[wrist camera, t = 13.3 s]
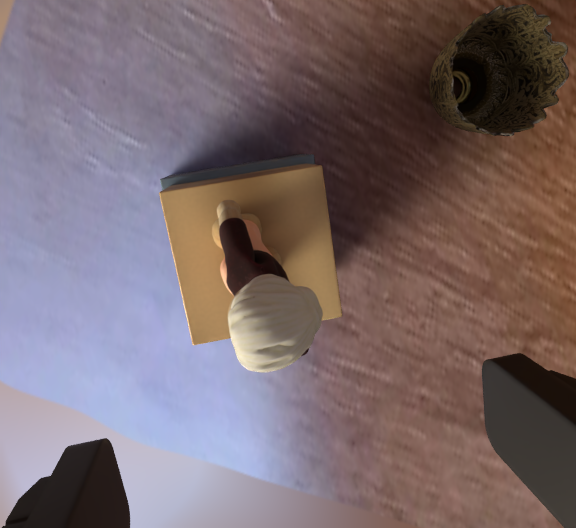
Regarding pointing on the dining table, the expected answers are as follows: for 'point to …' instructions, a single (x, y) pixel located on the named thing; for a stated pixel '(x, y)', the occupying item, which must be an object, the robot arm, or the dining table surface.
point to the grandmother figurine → (262, 296)
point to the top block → (275, 233)
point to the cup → (499, 72)
